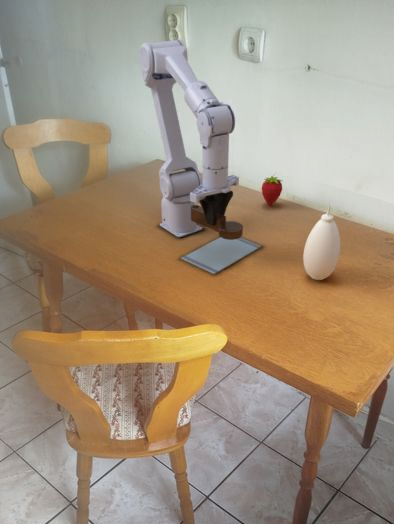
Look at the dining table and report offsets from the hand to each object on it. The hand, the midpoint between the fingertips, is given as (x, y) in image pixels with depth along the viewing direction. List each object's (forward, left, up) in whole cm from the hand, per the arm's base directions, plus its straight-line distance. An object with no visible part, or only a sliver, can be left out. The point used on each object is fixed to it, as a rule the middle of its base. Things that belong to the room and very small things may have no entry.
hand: (214, 222), depth 120 cm
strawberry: (-13, +31, -9) cm, 35 cm away
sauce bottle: (+23, +12, -9) cm, 28 cm away
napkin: (0, +2, -9) cm, 9 cm away
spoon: (0, 0, -1) cm, 1 cm away
